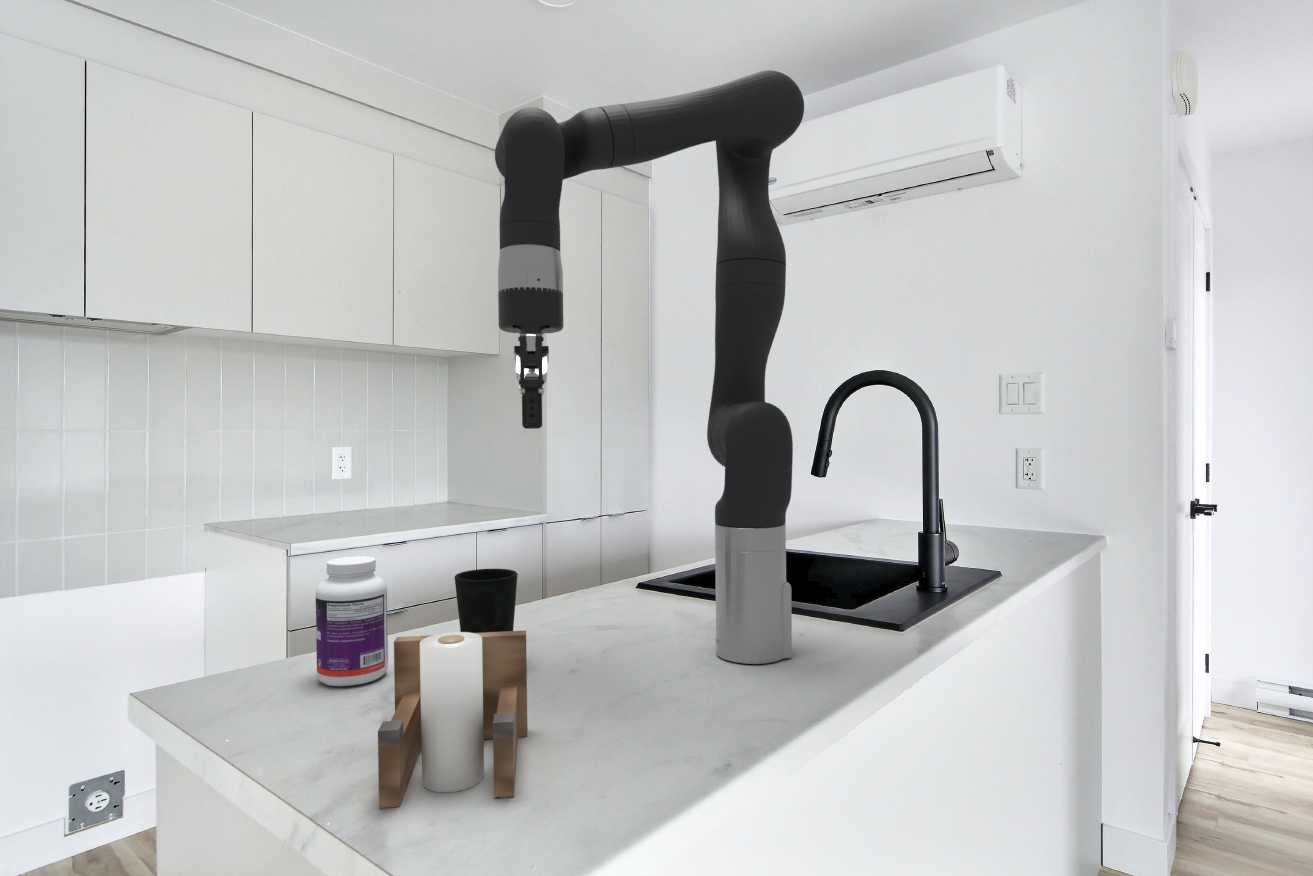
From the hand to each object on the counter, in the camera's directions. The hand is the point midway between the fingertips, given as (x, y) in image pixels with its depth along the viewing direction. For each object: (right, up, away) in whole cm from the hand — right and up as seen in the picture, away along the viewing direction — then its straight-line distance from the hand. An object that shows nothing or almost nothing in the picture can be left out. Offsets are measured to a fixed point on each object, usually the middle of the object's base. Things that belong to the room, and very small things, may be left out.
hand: (532, 428), depth 89 cm
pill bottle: (-22, -31, +3) cm, 38 cm away
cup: (-7, -30, +6) cm, 31 cm away
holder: (-4, -31, -20) cm, 37 cm away
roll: (-3, -31, -23) cm, 39 cm away
